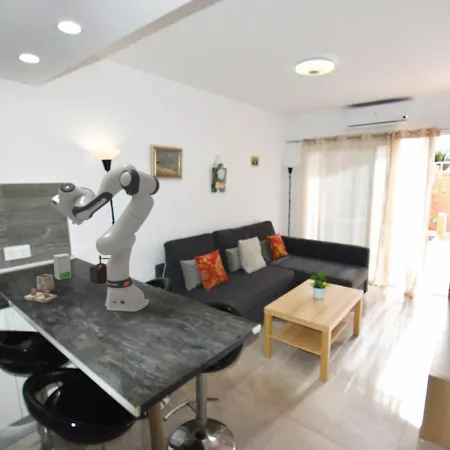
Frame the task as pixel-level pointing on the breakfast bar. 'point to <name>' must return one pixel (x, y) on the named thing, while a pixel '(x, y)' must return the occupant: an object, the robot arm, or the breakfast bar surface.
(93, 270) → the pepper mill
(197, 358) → the breakfast bar surface
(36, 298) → the pin board
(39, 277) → the sleeve
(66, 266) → the skincare box
